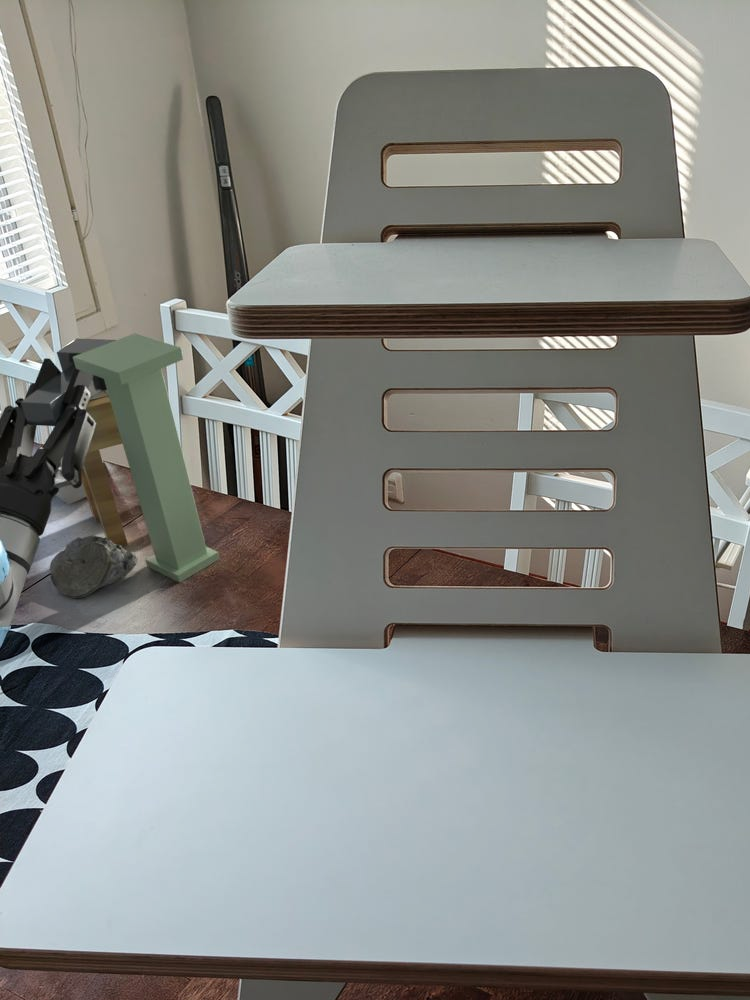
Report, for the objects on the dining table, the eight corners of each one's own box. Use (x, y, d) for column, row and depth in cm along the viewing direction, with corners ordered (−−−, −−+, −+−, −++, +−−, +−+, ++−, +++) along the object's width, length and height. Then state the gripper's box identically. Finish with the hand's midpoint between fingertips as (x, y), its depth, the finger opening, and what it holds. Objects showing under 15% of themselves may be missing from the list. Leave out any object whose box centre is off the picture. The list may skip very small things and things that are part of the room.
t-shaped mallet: (87, 373, 134) (76, 338, 131) (126, 375, 133) (117, 339, 130) (20, 424, 121) (7, 386, 118) (64, 426, 120) (51, 388, 117)
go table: (90, 515, 147) (46, 381, 134) (169, 493, 151) (133, 361, 138) (109, 551, 138) (64, 412, 125) (192, 526, 143) (157, 389, 130)
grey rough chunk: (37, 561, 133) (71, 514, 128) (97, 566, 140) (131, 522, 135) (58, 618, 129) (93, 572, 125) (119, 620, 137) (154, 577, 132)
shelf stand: (178, 588, 130) (118, 372, 112) (136, 567, 134) (72, 356, 116) (230, 558, 135) (180, 347, 117) (188, 538, 140) (134, 333, 122)
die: (94, 478, 157) (39, 440, 151) (125, 462, 152) (69, 421, 146) (73, 520, 153) (16, 482, 147) (104, 504, 148) (45, 464, 141)
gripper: (-35, 536, 122) (26, 381, 130) (89, 546, 118) (143, 386, 127) (-75, 505, 115) (-8, 344, 123) (56, 515, 112) (116, 348, 120)
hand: (69, 366), depth 125 cm, fingers closed on t-shaped mallet, 4 cm apart
